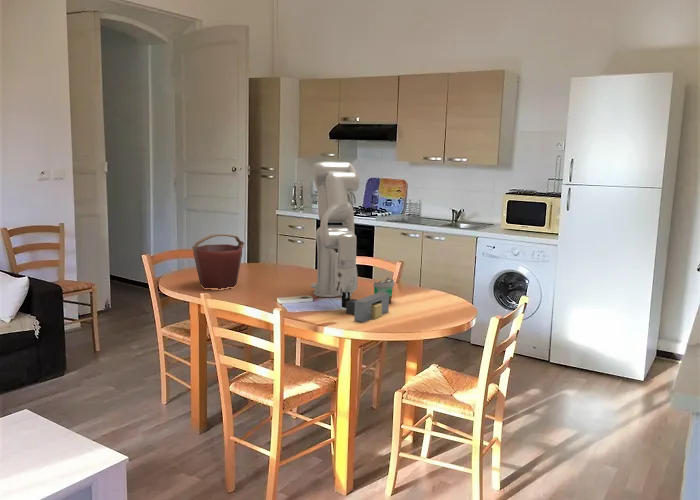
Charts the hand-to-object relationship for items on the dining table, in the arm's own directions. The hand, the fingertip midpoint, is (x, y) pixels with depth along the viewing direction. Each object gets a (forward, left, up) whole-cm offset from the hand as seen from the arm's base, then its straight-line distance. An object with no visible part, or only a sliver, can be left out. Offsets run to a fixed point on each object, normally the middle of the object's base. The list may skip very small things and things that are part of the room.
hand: (345, 307), depth 254 cm
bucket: (-72, 0, -2) cm, 72 cm away
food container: (+6, +22, -2) cm, 23 cm away
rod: (+9, 0, -2) cm, 9 cm away
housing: (+12, 0, -2) cm, 13 cm away
